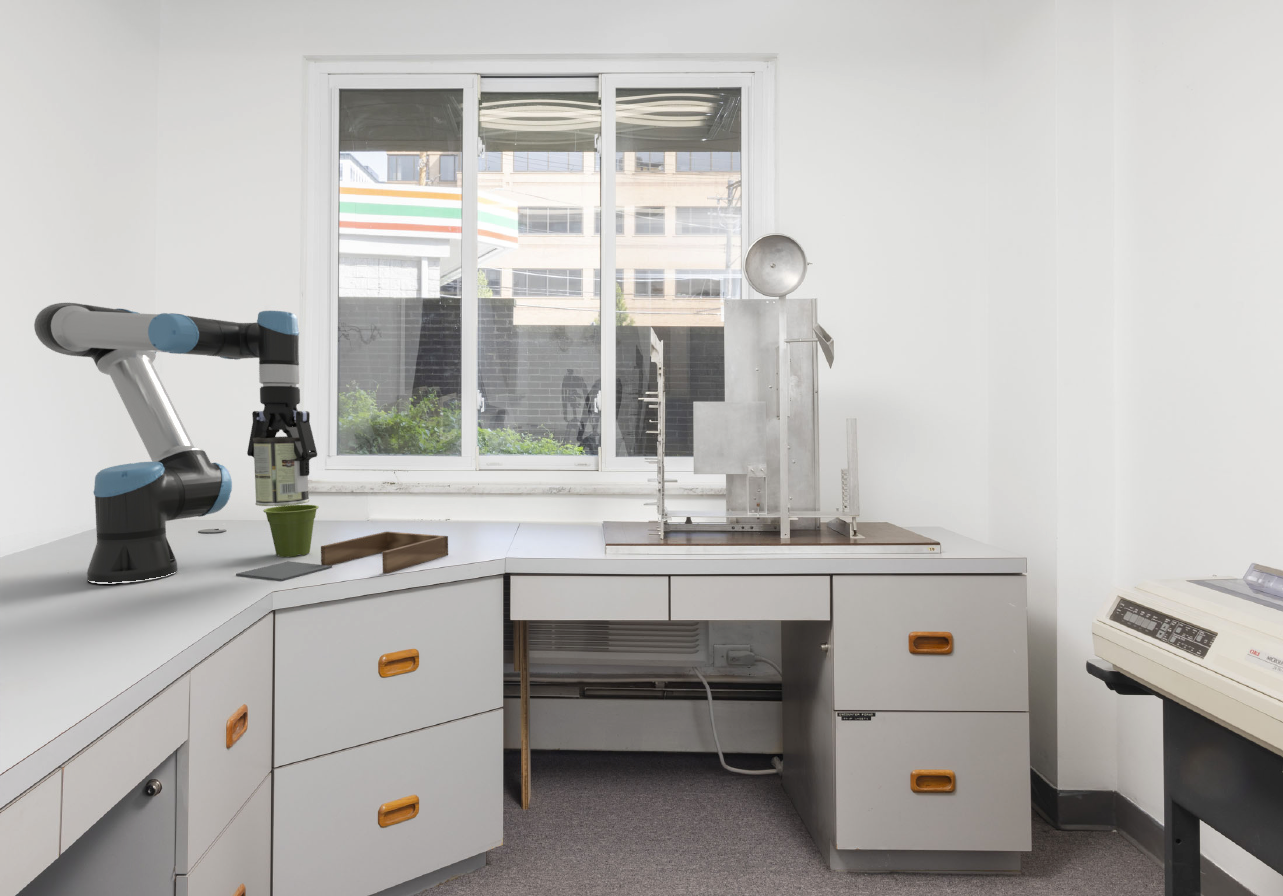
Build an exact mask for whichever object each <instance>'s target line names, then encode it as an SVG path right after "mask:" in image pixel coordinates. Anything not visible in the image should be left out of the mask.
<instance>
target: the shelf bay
mask: <svg viewBox="0 0 1283 896" xmlns="http://www.w3.org/2000/svg"><path fill="white" fill-rule="evenodd" d="M380 553H381V555H382V574H390V573H392V572H396V571H399V570H403V569H406V568H409V567H410V568H411V567H413V566H416V565H420V564H423V563H425V562H429V561H433V560H436V559H440V558H442V557H446V556H448V555H449V536H447V535H437V534H424V533H423V534H421V533H411V532H399V531H382V532H378V533H373V534H369V535H364V536H361V537H356V538H352V539H347V540H343V541H338V542H333V543H329V544H325V545H324V544H323V545H320V565H329V566H334V565H338V564H341V563H345V562H346V563H347V562H349V561H354V560H357V559H361V558H364V557H369V556H372V555H376V554H380Z"/></svg>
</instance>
